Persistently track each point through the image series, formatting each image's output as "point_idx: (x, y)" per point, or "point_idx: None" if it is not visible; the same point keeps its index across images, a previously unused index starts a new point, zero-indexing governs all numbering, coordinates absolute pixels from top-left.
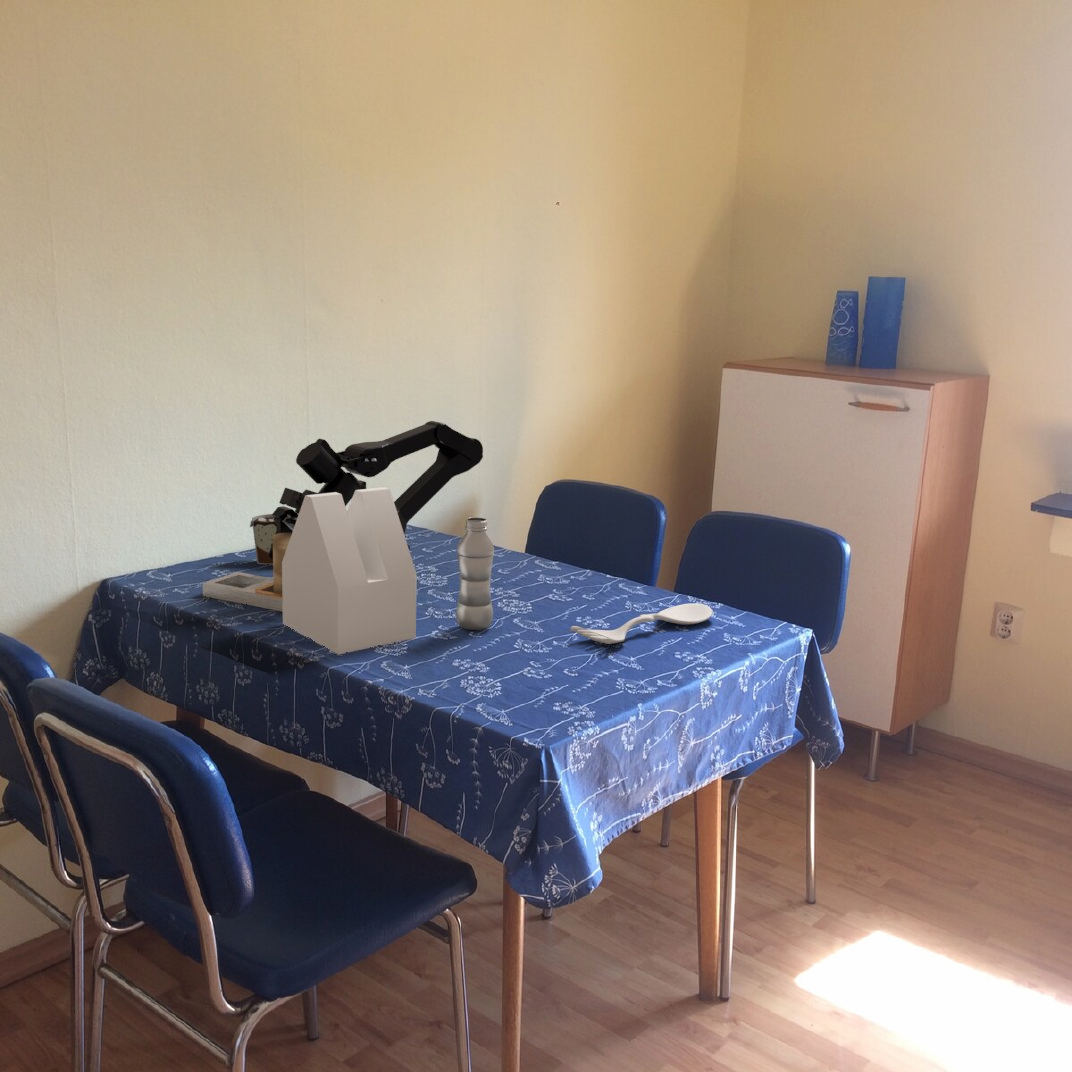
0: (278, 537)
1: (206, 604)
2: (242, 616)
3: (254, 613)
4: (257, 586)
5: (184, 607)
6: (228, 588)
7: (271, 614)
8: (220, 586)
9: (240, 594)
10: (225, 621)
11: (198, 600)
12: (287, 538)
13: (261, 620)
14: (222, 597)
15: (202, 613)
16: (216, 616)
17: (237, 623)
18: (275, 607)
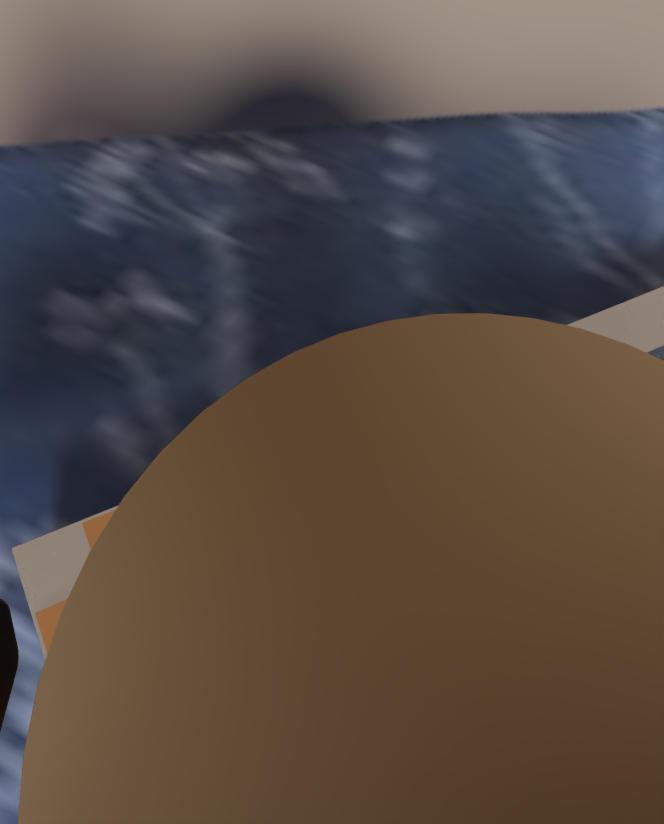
0: (435, 406)
1: (536, 241)
2: (208, 284)
3: (220, 364)
4: None
5: (532, 143)
6: (583, 320)
7: (131, 438)
8: (649, 300)
9: None
10: (181, 179)
11: (628, 243)
12: (160, 577)
13: (59, 330)
14: None
15: (386, 159)
16: (294, 185)
17: (104, 207)
18: None
